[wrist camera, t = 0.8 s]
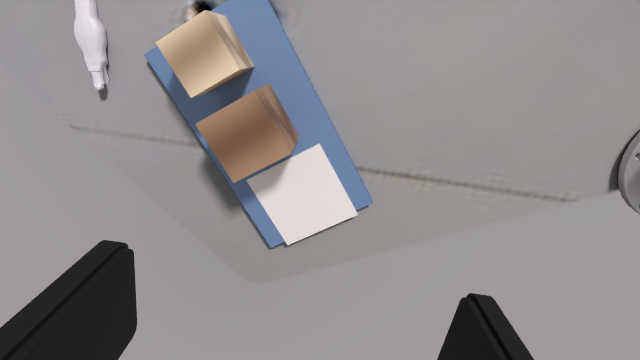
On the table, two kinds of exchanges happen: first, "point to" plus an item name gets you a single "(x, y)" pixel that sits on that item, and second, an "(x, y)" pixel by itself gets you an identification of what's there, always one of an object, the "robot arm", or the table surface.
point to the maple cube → (205, 53)
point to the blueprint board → (307, 118)
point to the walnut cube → (250, 133)
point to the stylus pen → (92, 40)
